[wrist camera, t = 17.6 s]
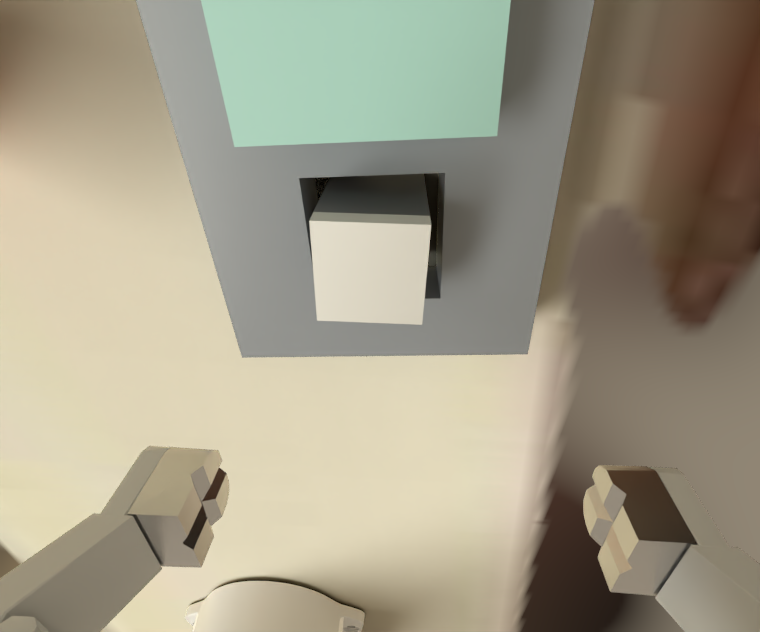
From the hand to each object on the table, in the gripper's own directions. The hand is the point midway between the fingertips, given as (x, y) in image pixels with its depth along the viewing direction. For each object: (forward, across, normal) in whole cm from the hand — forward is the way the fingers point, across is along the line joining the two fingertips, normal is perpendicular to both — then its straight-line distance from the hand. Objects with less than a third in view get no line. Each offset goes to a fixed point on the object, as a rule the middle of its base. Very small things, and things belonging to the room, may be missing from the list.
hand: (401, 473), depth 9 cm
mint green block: (+10, +2, -8) cm, 13 cm away
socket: (+13, +1, -3) cm, 14 cm away
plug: (+13, +2, -1) cm, 13 cm away
